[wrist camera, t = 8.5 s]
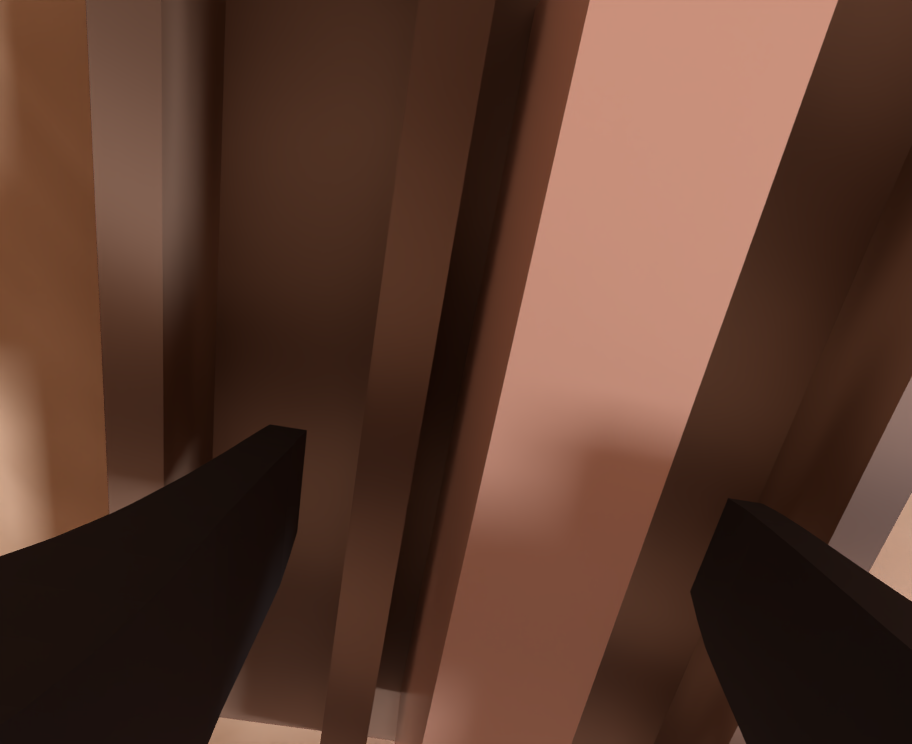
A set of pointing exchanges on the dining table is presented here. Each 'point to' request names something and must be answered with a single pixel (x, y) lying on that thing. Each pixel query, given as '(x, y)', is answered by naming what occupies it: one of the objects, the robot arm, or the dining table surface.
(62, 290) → the dining table surface
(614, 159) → the clay strip
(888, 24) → the slatted brown panel
